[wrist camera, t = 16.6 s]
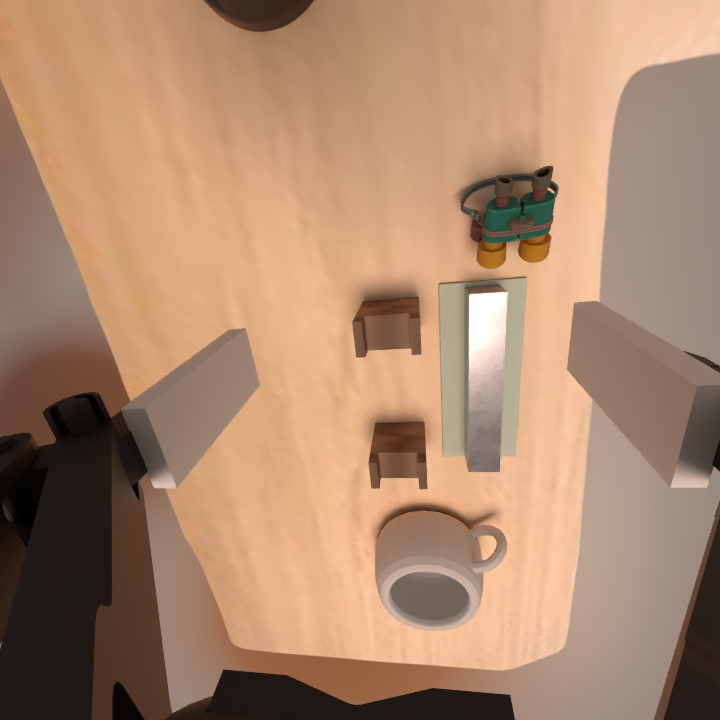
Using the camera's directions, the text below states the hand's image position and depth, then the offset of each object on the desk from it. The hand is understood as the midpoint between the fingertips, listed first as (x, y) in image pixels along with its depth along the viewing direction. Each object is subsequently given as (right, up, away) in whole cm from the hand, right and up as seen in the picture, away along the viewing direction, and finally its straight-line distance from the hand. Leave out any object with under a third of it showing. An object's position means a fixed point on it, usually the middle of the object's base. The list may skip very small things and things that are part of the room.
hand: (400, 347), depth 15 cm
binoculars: (+14, +15, +27) cm, 34 cm away
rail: (+14, -3, +33) cm, 36 cm away
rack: (+3, -3, +36) cm, 36 cm away
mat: (+14, -3, +34) cm, 37 cm away
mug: (+11, -29, +46) cm, 56 cm away
